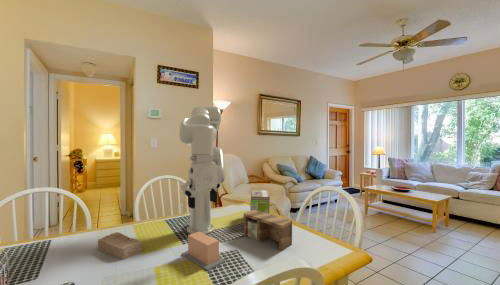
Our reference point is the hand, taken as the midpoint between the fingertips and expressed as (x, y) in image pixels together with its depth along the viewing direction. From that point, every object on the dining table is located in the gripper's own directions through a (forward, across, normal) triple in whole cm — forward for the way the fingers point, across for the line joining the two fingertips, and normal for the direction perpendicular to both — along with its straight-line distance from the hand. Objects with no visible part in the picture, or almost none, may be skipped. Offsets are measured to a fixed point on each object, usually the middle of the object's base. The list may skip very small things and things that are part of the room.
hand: (202, 204), depth 88 cm
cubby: (+20, +28, -9) cm, 35 cm away
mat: (+20, 0, -1) cm, 20 cm away
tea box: (+21, +44, +9) cm, 50 cm away
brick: (+21, -19, +28) cm, 40 cm away
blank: (+19, 0, -1) cm, 19 cm away
